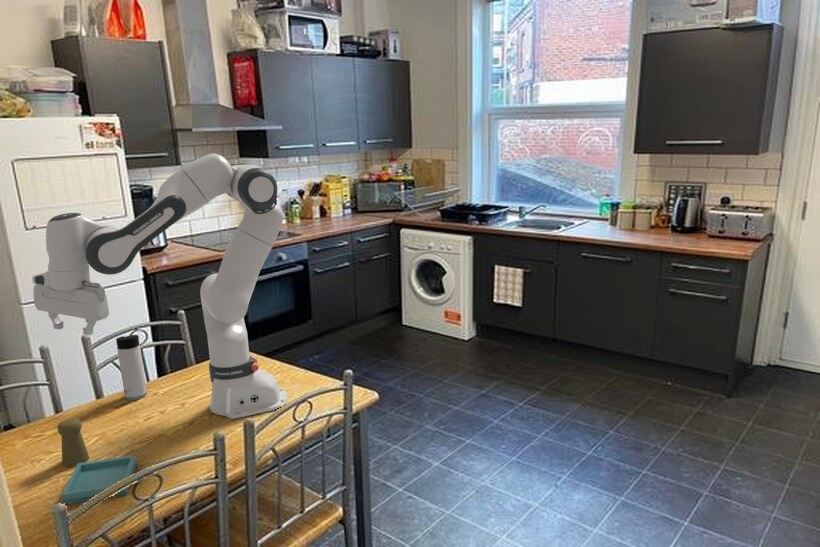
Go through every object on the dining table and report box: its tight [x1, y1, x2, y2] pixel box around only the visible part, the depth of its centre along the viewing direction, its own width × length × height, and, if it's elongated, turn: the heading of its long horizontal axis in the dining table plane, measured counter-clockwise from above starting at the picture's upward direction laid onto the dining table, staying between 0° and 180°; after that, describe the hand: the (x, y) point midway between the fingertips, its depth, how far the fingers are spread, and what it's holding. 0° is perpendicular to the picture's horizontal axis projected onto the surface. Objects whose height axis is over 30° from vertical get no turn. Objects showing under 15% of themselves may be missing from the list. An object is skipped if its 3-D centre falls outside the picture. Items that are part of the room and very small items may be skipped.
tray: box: [61, 454, 138, 505], centre depth 139 cm, size 13×13×3 cm
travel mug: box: [115, 334, 148, 401], centre depth 181 cm, size 6×7×20 cm
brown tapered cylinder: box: [57, 417, 90, 468], centre depth 148 cm, size 6×6×11 cm
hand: (73, 331), depth 150 cm, fingers open, 8 cm apart
